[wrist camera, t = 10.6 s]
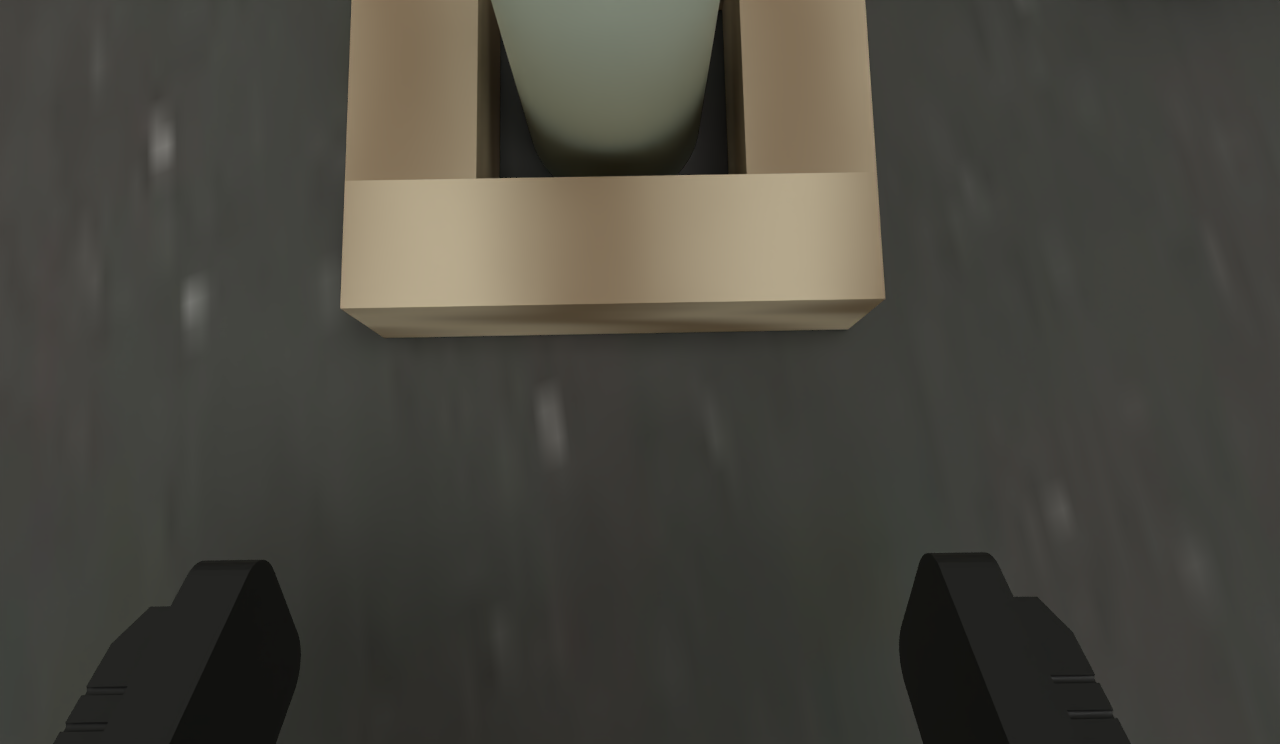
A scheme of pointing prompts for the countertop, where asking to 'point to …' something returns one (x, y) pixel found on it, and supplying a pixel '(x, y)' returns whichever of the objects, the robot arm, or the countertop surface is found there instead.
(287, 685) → the robot arm
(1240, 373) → the countertop surface
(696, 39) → the peg
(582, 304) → the socket
